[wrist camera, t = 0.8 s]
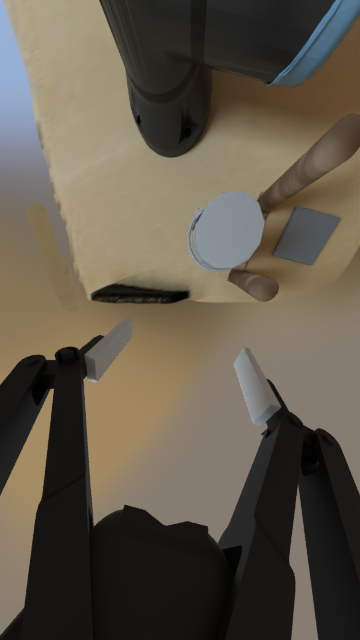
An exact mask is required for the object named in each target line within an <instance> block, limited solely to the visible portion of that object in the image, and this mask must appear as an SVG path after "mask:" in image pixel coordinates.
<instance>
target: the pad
mask: <svg viewBox="0 0 360 640" xmlns="http://www.w3.org/2000/svg"><path fill="white" fill-rule="evenodd" d="M340 219H341V218H340V217H336V216H333V215H329V214H325V213H321V212H317V211H314V210H310V209H306V208H302V207H299V206H297V207H295V209H294V211H293V213H292V215H291V217H290V219H289V221H288V223H287V225H286V227H285V229H284V232H283V234H282V236H281V238H280V240H279V242H278V244H277V246H276V248H275V250H274V252H273V254H272V255H273V256H277V257H280V258H284V259H288V260H292V261H296V262H299V263H303V264H307V265H313V263H314V261H315V260H316V258H317V256H318V255H319V253H320V252H321V250H322V248H323V247H324V245H325V244H326V242H327V240H328V239H329V237H330V235H331V234H332V232H333V231H334V229H335V227H336V226H337V224H338V223H339V221H340Z"/></svg>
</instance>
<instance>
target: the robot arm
mask: <svg viewBox="0 0 360 640" xmlns="http://www.w3.org/2000/svg"><path fill="white" fill-rule="evenodd" d="M99 1H100V4H101V6H102V9H103V11H104V14H105V17H106V19H107V22H108V24H109V27H110V30H111V32H112V35H113V37H114V40H115V43H116V45H117V48H118V50H119V53H120V56H121V58H122V61H123V64H124V66H125V70H126V77H127V85H128V93H129V100H130V105H131V110H132V113H133V117H134V120H135V122H136V125H137V127H138V129H139V131H140V134H141V136H142V137H143V139H144V141H145V142H146V144H147V145H148V146H149V147H150V148H151V149H152V150H153V151H154V152H156V153H157V154H159V155H161V156H165V157H176V156H179V155H182V154H183V153H185V152H187V151H188V150H189V149H190V148H191V147H192V146H193V145H194V144H195V143H196V141H197V140H198V139H199V137H200V135H201V133H202V131H203V129H204V127H205V124H206V121H207V118H208V114H209V109H210V103H211V92H212V69H215V70H219V71H223V72H227V73H231V74H235V75H240V76H244V77H248V78H252V79H256V80H260V81H264V85H265V86H267V87H270V86H273V85H275V84H277V85H283V86H290V87H295V86H298V85H300V84H301V83H303V82H304V81H306V80H308V79H309V78H311V77H312V76H313V75H314V74H315V73H316V72H317V71H318V70H319V69H320V68H321V66H322V65H323V64H324V63H325V62H326V61H327V59H328V58H329V57H330V56H331V54H332V53H333V52H334V50H335V49H336V48H337V46H338V45H339V44H340V42H341V41H342V40H343V38H344V37H345V35H346V34H347V32H348V31H349V30H350V28H351V27H352V25H353V24H354V22H355V21H356V19H357V18H358V16H359V15H360V0H99ZM133 319H134V318H132V317H128V316H127V317H126V318H125V319H124V320H122V321H121V322H120V323H119V324H118V325H117V326H116V327H115V328H114V329H112V330H111V331H110V332H109V333H108V334H107V335H106V336H101V335H99V336H97V337H94V338H93V339H92V340H91V341H90V342H88V343H87V344H86V345H85V346H83V347H82V348H81V349H80V350H78V348H76V347H65V348H62V349H60V350H58V351H57V352H56V353H55V358H56V360H46V358H45V356H43V355H32V356H29V357H26V358H24V359H22V360H21V361H20V362H19V363H18V364H17V365H16V366H15V368H14V369H13V370H12V371H11V373H10V374H9V375H8V376H7V377H6V379H5V380H4V381H3V382H2V384H1V385H0V495H1V493H2V490H3V488H4V486H5V484H6V482H7V480H8V478H9V476H10V474H11V471H12V469H13V467H14V465H15V463H16V461H17V459H18V457H19V454H20V452H21V450H22V448H23V446H24V444H25V442H26V440H27V437H28V435H29V433H30V431H31V429H32V427H33V425H34V423H35V420H36V418H37V416H38V414H39V412H40V410H41V408H42V406H43V404H44V402H45V399H46V397H47V395H48V393H49V391H50V389H54V394H53V403H52V413H51V422H50V432H49V440H48V450H47V459H46V468H45V477H44V486H43V494H42V499H41V501H40V503H39V505H38V509H37V513H36V519H35V525H34V534H33V542H32V550H31V558H30V566H29V574H28V582H27V590H26V599H25V607H24V608H23V610H22V611H21V612H20V613H19V614H18V615H17V617H16V618H15V619H14V620H13V621H12V623H11V624H10V625H9V626H8V627H7V628H6V629H5V631H4V632H3V633H2V634H1V635H0V640H291V634H292V623H293V612H294V600H295V576H294V572H293V570H292V568H291V566H290V564H289V554H290V545H291V537H292V529H293V520H294V512H295V504H296V496H297V488H298V486H299V493H300V501H301V508H302V516H303V524H304V532H305V540H306V547H307V555H308V563H309V570H310V578H311V586H312V593H313V602H314V609H315V617H316V625H317V633H318V640H360V495H359V492H358V489H357V487H356V484H355V482H354V479H353V477H352V474H351V472H350V469H349V467H348V464H347V462H346V459H345V457H344V454H343V452H342V449H341V447H340V445H339V444H338V442H337V441H336V440H335V438H334V437H333V436H332V435H331V434H329V433H328V432H326V431H325V430H323V429H320V428H318V429H316V430H315V431H313V430H311V429H310V428H308V427H306V426H304V425H303V423H302V422H301V420H300V419H299V418H298V417H297V416H296V415H294V414H293V413H291V412H289V411H288V409H287V407H286V405H285V403H284V402H283V400H282V398H281V397H280V395H279V393H278V391H277V390H276V388H275V386H274V385H273V383H272V382H271V381H270V380H269V379H266V378H265V376H264V374H263V372H262V370H261V368H260V367H259V365H258V363H257V361H256V359H255V357H254V356H253V354H252V352H251V350H250V349H248V348H245V347H243V349H242V351H241V352H240V354H239V356H238V357H237V359H236V361H235V363H234V367H235V370H236V373H237V376H238V379H239V382H240V385H241V388H242V391H243V395H244V398H245V401H246V404H247V407H248V410H249V413H250V416H251V419H252V422H253V424H256V425H259V426H263V425H264V424H265V423H267V426H268V428H267V429H266V430H265V431H264V432H263V433H262V434H261V435H264V436H263V439H262V441H261V444H260V446H259V449H258V452H257V454H256V457H255V459H254V462H253V464H252V467H251V470H250V472H249V475H248V477H247V480H246V482H245V485H244V488H243V490H242V492H241V495H240V498H239V500H238V503H237V506H236V508H235V510H234V513H233V516H232V518H231V521H230V523H229V525H228V527H227V528H226V530H225V531H224V533H223V534H222V536H221V538H220V540H219V542H218V544H217V542H216V541H215V540H214V539H213V538H212V537H211V536H210V535H209V534H208V527H207V526H204V525H200V524H196V523H192V522H189V521H186V522H182V523H177V524H173V525H168V526H165V525H163V524H162V523H160V522H159V521H158V520H157V519H155V518H154V517H153V516H151V515H150V514H149V513H148V512H147V511H146V510H142V509H139V508H135V507H131V506H128V505H124V508H123V510H118V511H115V512H113V513H111V514H109V515H107V516H106V517H104V518H103V519H102V520H101V521H99V522H98V523H97V524H96V525H95V526H94V523H93V509H92V498H91V487H90V473H89V457H88V444H87V443H88V442H87V430H86V429H87V427H86V412H85V397H84V382H83V379H84V378H85V377H86V376H87V379H88V380H89V381H93V382H97V381H98V380H99V379H100V378H101V376H102V375H103V374H104V372H105V371H106V370H107V368H108V367H109V366H110V365H111V363H112V362H113V361H114V360H115V358H116V357H117V356H118V354H119V353H120V352H121V350H122V349H123V348H124V347H125V345H126V344H127V343H128V341H129V340H130V339H131V338H132V331H133Z"/></svg>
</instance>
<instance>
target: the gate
mask: <svg viewBox="0 0 360 640" xmlns="http://www.w3.org/2000/svg"><path fill="white" fill-rule="evenodd" d="M359 147H360V115H358V114H350V115H347V116H345V117H343V118H342V119H340V120H339V121H338V122H337V123H336V124H335V125H334V126H333V127H332V128H331V129H330V130H328V131H327V132H326V133H325V134H324V135H323V136H322V137H321V138H320V139H319V140H318V141H317V142H316V143H315V144H314V145H313V146H312V147H311V148H310V149H309V150H308V151H307V152H306V153H305V154H304V155H303V156H302V157H301V158H299V159H298V160H297V161H296V162H295V163H294V164H293V165H292V166H291V167H290V168H289V169H288V170H287V171H286V172H285V173H284V174H283V175H282V176H281V177H280V178H279V179H278V180H277V181H276V182H275V183H274V184H273V185H271V186H270V187H269V188H268V189H267V190H266V191H265V192H261V193H260V196H259V198H258V200H257V202H259V205H260V208H261V212H262V215H263V218H264V221H265V218H266V216H267V214H268V211H270V210H271V209H273V208H274V207H276V206H277V205H279V204H280V203H282V202H283V201H285V200H287V199H288V198H290V197H291V196H293V195H294V194H296V193H297V192H299V191H300V190H302V189H304V188H305V187H307V186H308V185H310V184H311V183H313V182H314V181H316V180H317V179H319V178H320V177H322V176H324V175H325V174H327V173H328V172H330V171H331V170H333V169H334V168H336V167H337V166H339V165H341V164H342V163H344V162H345V161H347V160H348V159H349V158H351V157H352V156H353V155H354V154H355V152H356V151H357V150H358V148H359ZM247 261H248V260H246V261H245V262H243V263H241V264H239V265H237V266H236V267H234V268H232V269H231V272H230V273H229V277H228V280H227V281H228V282H232V283H233V284H235V285H236V286H238V287H239V288H241V289H242V290H244V291H245V292H247V293H248V294H249V295H251V296H252V297H254V298H255V299H257V300H258V301H262V302H265V301H269V300H271V299H273V298H274V297H275V296H276V294H277V293H278V290H279V285H278V282H277V281H276V280H274V279H272V278H268V277H264V276H261V275H257V274H253V273H250V272H246V271H244V268H245V266H246V264H247Z"/></svg>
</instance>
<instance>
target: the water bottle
mask: <svg viewBox="0 0 360 640" xmlns="http://www.w3.org/2000/svg"><path fill="white" fill-rule="evenodd" d="M202 212H203V213H202ZM193 216H194V218H193V220H192V221H191V223H190V225H189V229H188V234H187V240H188V249H189V251H190V253H191V256H192V258H193V259H194V260H195V262H196V263H197V264H198V265H199V266H200V267H202V268H204V269H206V270H208V271H216V272H220V271H224V270H227V269H230V268H234V267H236V266H237V265H239V264H241V263H243V262H245V261H246V260H248V259H249V258H250V257H251V255H252V254H253V252H254V251H255V250H256V248H257V247H258V246H259V244H260V243H261V238H262V233H263V228H264V223H265V222H264V218H263V215H262V212H261V208H260V205H259V202H257V201H256V200H254V199H253V198H252V197H250V196H249V195H248V194H246V193H245V192H244V191H241V192H224V193H222V194H221V195H220V196H218V197H217V198H215V199H214V200H213V201H211V202H210V203H209V204H207V205H206V206H205V207H203V208H202V209H201V210H200V209H198V210H197V211H196V212H195V214H194V215H193ZM196 223H197V224H196ZM195 224H196V227H195ZM191 229H192V230H193V251H194V253H195V255H196V257H197V259H198V260H197V259H196V258H195V256H194V254H193V252H192V249H191V245H190V233H191ZM198 261H199V262H198ZM203 265H204V266H203Z"/></svg>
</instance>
